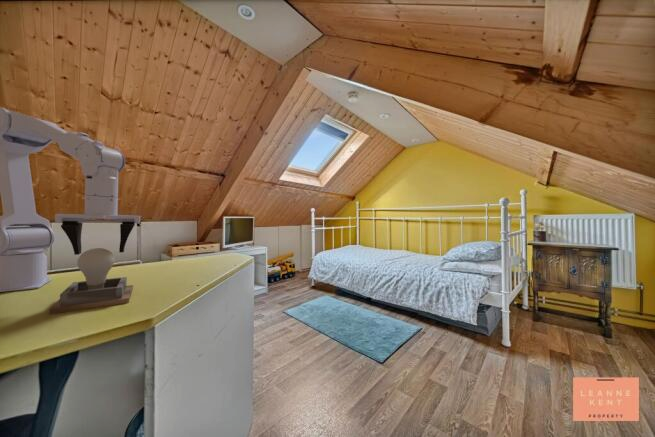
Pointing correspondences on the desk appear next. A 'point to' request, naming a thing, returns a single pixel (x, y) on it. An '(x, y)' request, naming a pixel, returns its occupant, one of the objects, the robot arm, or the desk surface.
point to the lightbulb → (95, 266)
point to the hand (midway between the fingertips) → (100, 252)
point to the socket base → (92, 296)
